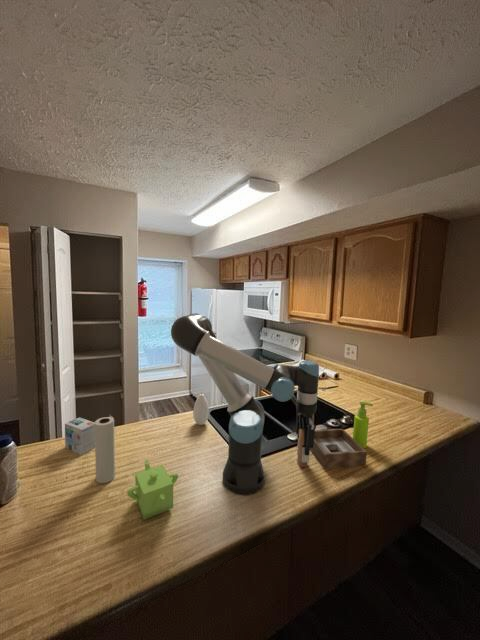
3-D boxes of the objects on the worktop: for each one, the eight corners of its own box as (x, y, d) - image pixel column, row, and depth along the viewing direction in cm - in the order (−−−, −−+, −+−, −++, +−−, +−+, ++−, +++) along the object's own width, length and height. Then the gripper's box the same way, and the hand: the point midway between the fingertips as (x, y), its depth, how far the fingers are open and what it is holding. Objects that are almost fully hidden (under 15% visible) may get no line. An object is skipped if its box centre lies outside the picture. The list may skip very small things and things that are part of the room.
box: (323, 469, 105) (324, 454, 105) (304, 443, 123) (305, 430, 122) (365, 465, 108) (367, 451, 108) (341, 440, 126) (342, 428, 125)
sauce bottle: (210, 421, 140) (211, 387, 138) (206, 428, 132) (207, 393, 130) (196, 419, 141) (196, 386, 139) (190, 426, 133) (191, 391, 131)
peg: (299, 467, 106) (301, 433, 104) (295, 461, 110) (297, 428, 108) (309, 466, 106) (311, 432, 105) (305, 460, 110) (307, 427, 109)
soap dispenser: (370, 449, 120) (374, 406, 118) (353, 447, 121) (357, 404, 119) (366, 442, 126) (370, 401, 123) (351, 440, 127) (354, 399, 125)
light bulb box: (64, 448, 112) (63, 423, 111) (80, 440, 118) (79, 416, 117) (81, 455, 108) (80, 429, 107) (96, 447, 114) (96, 422, 113)
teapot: (145, 485, 93) (145, 456, 92) (182, 490, 91) (183, 461, 90) (119, 522, 78) (119, 488, 77) (163, 530, 76) (164, 495, 75)
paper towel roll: (102, 486, 92) (101, 426, 89) (92, 479, 95) (90, 421, 92) (121, 474, 98) (120, 417, 96) (110, 468, 101) (109, 413, 99)
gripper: (326, 410, 97) (321, 471, 100) (306, 392, 114) (303, 445, 117) (306, 411, 96) (302, 472, 99) (289, 393, 113) (286, 446, 115)
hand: (302, 457), depth 108 cm, fingers closed on peg, 4 cm apart
